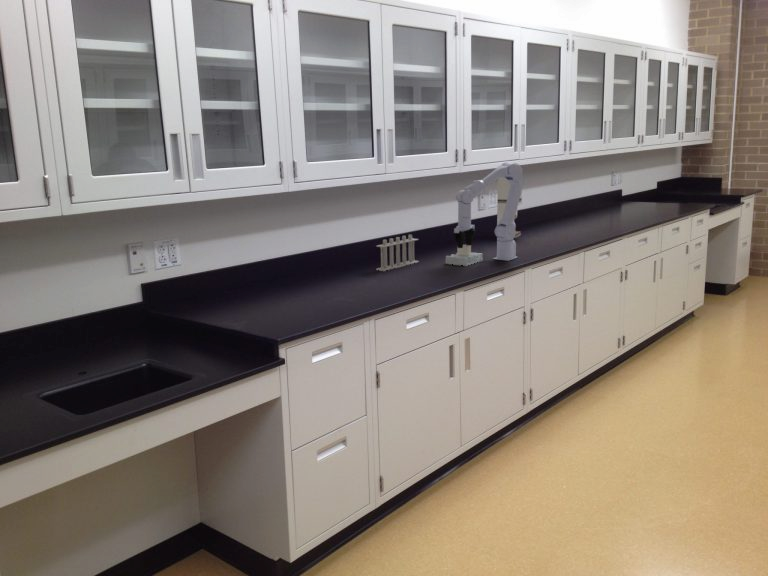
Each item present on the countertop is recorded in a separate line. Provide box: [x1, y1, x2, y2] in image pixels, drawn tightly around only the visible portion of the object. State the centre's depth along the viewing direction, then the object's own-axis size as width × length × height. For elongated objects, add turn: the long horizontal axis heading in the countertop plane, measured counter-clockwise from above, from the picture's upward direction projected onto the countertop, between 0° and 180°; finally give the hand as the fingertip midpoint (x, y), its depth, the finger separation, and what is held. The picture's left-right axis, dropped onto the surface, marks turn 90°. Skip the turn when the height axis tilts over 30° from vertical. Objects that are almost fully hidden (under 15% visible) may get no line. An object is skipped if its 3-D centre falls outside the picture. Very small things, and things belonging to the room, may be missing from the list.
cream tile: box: [456, 244, 472, 256], centre depth 306 cm, size 2×6×7 cm, turn 52°
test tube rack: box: [375, 234, 420, 272], centre depth 301 cm, size 25×4×13 cm, turn 139°
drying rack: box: [445, 251, 484, 267], centre depth 307 cm, size 14×11×4 cm
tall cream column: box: [496, 177, 523, 239], centre depth 376 cm, size 11×11×35 cm
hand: (464, 246), depth 306 cm, fingers open, 7 cm apart
